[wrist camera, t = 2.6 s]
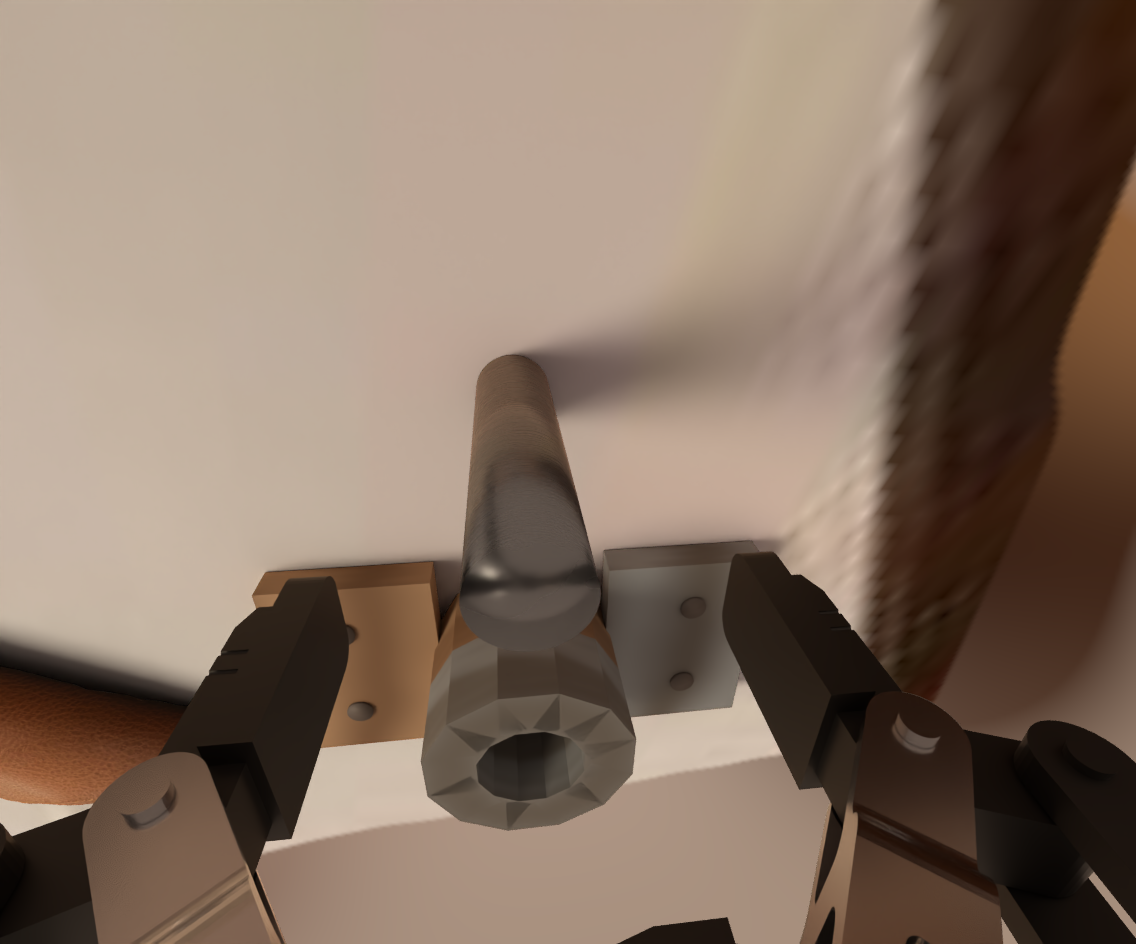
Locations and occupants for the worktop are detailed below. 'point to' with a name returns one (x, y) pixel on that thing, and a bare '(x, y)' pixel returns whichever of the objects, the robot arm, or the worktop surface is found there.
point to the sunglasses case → (73, 738)
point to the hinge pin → (523, 518)
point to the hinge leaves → (529, 681)
